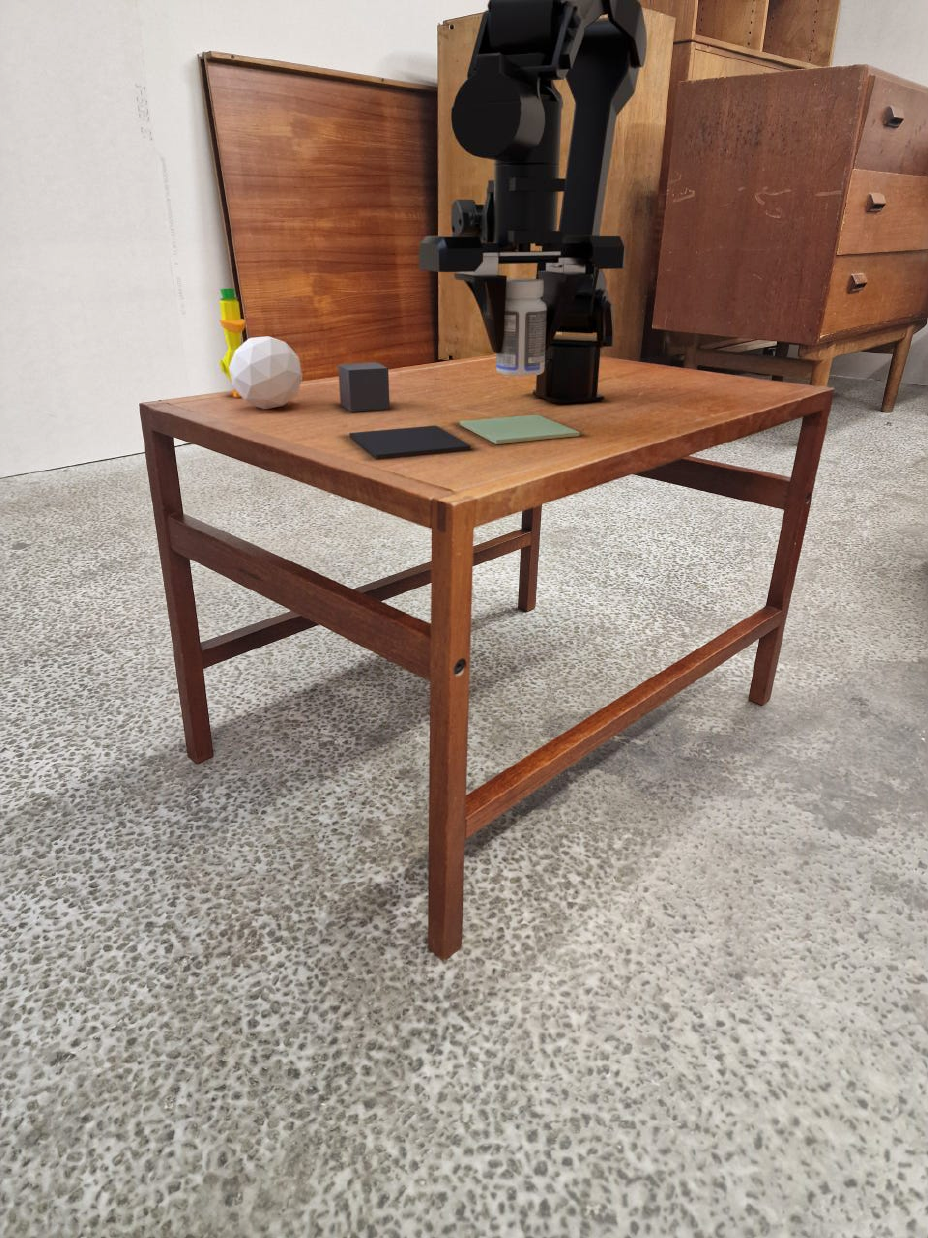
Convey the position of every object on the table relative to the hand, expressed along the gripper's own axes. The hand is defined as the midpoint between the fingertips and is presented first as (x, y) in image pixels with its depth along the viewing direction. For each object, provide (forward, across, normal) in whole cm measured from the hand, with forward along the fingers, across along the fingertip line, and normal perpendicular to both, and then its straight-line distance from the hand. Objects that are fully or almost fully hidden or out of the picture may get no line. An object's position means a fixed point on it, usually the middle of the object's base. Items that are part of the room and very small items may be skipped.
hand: (520, 351), depth 77 cm
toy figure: (+8, +23, -29) cm, 38 cm away
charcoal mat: (+8, +12, +1) cm, 14 cm away
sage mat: (+8, 0, 0) cm, 8 cm away
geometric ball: (+8, +21, -21) cm, 31 cm away
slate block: (+8, +11, -17) cm, 22 cm away
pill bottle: (+2, 0, 0) cm, 2 cm away
